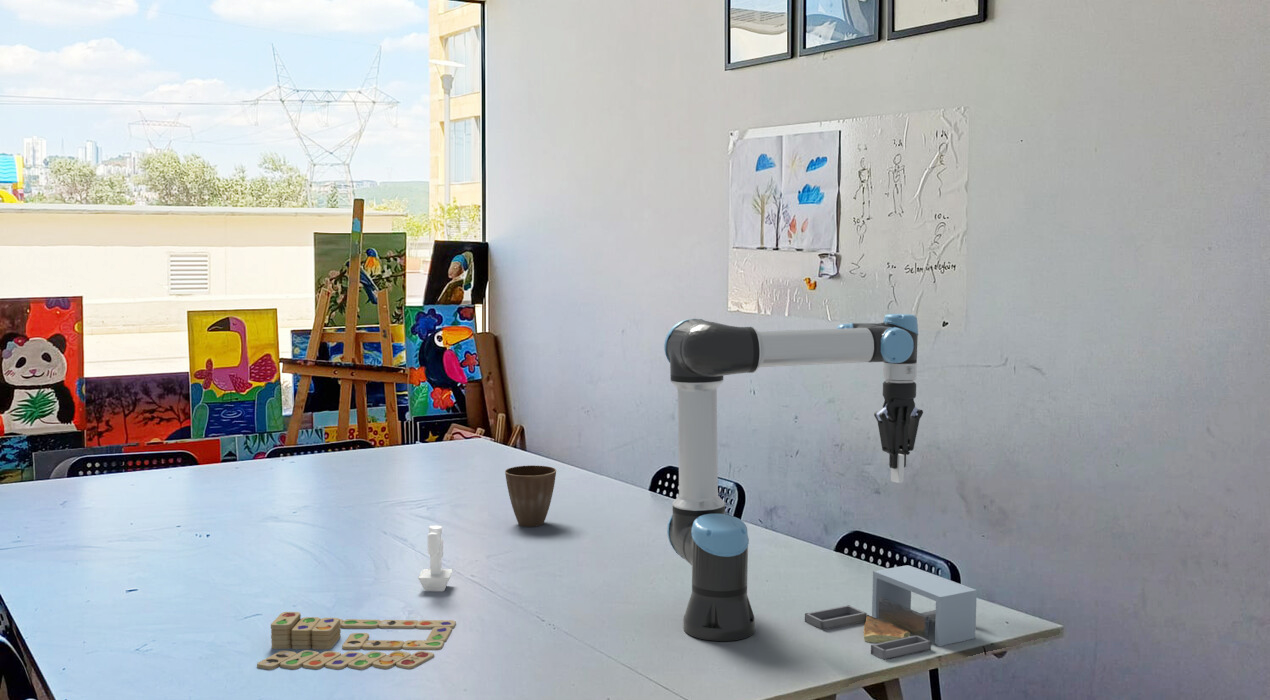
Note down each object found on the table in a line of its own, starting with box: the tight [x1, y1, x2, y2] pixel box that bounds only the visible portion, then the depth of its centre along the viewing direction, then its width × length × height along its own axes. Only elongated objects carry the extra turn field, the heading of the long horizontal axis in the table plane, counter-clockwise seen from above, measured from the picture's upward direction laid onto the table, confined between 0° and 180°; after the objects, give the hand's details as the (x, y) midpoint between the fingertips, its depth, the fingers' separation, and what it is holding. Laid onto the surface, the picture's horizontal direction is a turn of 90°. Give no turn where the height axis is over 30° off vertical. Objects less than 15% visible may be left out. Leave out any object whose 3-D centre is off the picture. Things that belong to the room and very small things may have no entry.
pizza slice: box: [863, 614, 911, 644], centre depth 228 cm, size 13×9×2 cm
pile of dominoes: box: [256, 611, 457, 671], centre depth 220 cm, size 35×27×6 cm
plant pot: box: [504, 464, 557, 528], centre depth 318 cm, size 15×15×16 cm
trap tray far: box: [804, 604, 868, 631], centre depth 235 cm, size 12×6×2 cm, turn 118°
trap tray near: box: [870, 635, 932, 661], centre depth 217 cm, size 12×4×2 cm, turn 118°
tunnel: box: [871, 565, 978, 647], centre depth 231 cm, size 10×20×10 cm, turn 28°
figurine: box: [417, 525, 454, 592], centre depth 256 cm, size 7×9×15 cm
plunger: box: [878, 598, 936, 640], centre depth 232 cm, size 16×14×6 cm
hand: (897, 481), depth 252 cm, fingers closed
